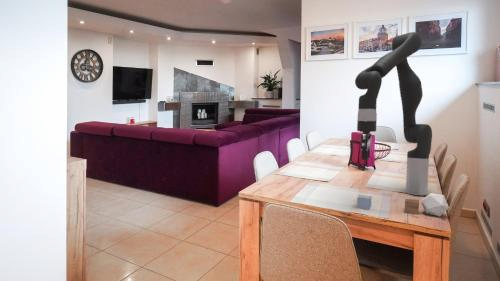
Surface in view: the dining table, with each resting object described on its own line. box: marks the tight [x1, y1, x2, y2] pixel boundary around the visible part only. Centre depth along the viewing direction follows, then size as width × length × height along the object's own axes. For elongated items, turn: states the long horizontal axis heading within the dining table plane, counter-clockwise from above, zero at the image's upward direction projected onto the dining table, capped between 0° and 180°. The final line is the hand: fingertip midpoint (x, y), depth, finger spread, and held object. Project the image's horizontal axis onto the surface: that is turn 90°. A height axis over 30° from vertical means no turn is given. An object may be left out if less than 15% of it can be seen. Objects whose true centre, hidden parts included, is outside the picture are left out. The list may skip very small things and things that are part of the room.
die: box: [420, 192, 450, 217], centre depth 127 cm, size 8×9×10 cm
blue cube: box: [356, 194, 372, 211], centre depth 135 cm, size 5×5×5 cm
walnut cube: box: [404, 198, 420, 215], centre depth 130 cm, size 5×5×5 cm
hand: (365, 158), depth 134 cm, fingers open, 8 cm apart
